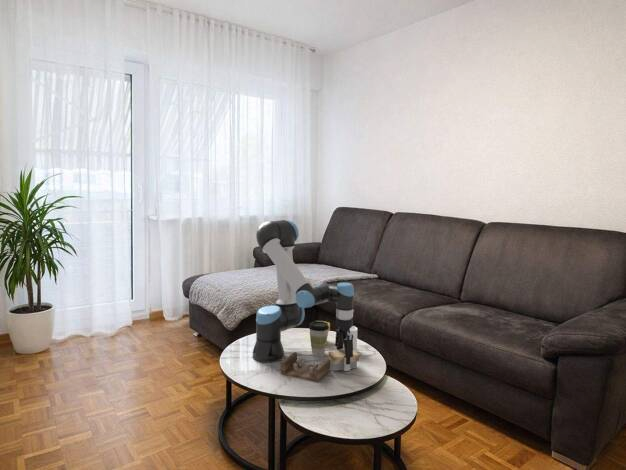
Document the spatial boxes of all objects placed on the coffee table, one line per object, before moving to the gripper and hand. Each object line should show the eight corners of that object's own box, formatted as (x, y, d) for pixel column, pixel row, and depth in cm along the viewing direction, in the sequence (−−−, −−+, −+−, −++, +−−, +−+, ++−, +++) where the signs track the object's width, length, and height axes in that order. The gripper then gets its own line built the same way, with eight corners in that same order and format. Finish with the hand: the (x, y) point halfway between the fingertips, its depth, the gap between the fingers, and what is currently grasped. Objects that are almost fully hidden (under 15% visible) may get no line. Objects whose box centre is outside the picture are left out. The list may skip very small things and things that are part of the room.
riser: (332, 371, 188) (332, 362, 188) (329, 368, 191) (329, 359, 190) (356, 367, 192) (357, 359, 192) (353, 365, 195) (354, 356, 194)
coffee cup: (314, 358, 201) (314, 328, 199) (304, 351, 210) (305, 322, 208) (332, 355, 206) (332, 325, 204) (322, 348, 214) (322, 319, 212)
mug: (349, 358, 202) (349, 334, 201) (333, 354, 207) (334, 330, 206) (360, 350, 212) (360, 327, 211) (345, 346, 217) (345, 324, 216)
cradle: (281, 373, 185) (281, 361, 184) (294, 363, 195) (294, 352, 195) (318, 382, 177) (319, 369, 176) (330, 371, 188) (330, 359, 187)
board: (334, 364, 186) (334, 357, 185) (328, 358, 192) (328, 351, 192) (359, 361, 190) (359, 354, 189) (352, 355, 196) (352, 348, 196)
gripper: (362, 323, 181) (360, 375, 183) (343, 310, 199) (342, 357, 202) (346, 325, 178) (344, 377, 181) (328, 312, 197) (327, 359, 199)
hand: (343, 366), depth 191 cm, fingers open, 7 cm apart
